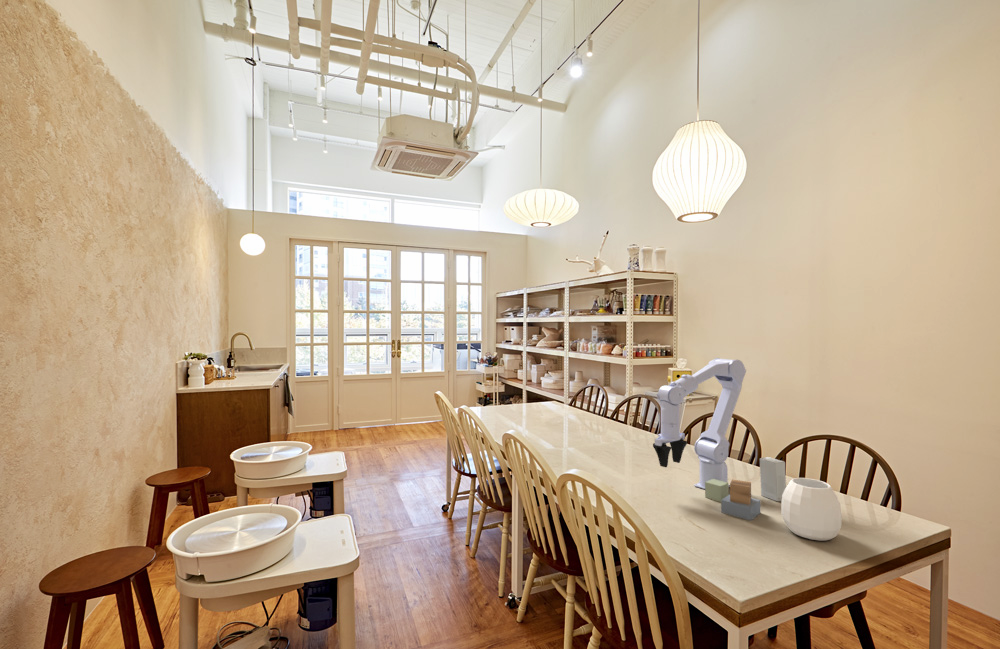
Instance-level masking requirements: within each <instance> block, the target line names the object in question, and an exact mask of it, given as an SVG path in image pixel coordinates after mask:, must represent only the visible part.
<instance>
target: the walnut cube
mask: <svg viewBox="0 0 1000 649" xmlns="http://www.w3.org/2000/svg"><path fill="white" fill-rule="evenodd" d="M729 485H730V487H729V494H730V501H732V502H737V503H743V504H749V505H750V502H751V498H752V482H751V481H746V480H739V479H735V478H733V479H731V481H730V483H729Z"/></svg>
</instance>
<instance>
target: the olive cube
mask: <svg viewBox="0 0 1000 649" xmlns="http://www.w3.org/2000/svg"><path fill="white" fill-rule="evenodd" d="M728 485H729V482H728V483H727V482H723V481H719V480H716V479H711V480H709V481H706V482H705V489H704V498H705V499H710V500H713V501H715V502H720V503H721V500H722V499H723V498H725V497H726V496H728V495H729V487H728Z"/></svg>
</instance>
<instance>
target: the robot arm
mask: <svg viewBox="0 0 1000 649" xmlns="http://www.w3.org/2000/svg"><path fill="white" fill-rule="evenodd" d="M746 372H747V369H746V367H745V365H744V363H743V361H742V360H740V359H729V358H720V357H717V358H716V357H715V358H714V359H712V360H709V361H708V364H707V365H705V366H703V367H702V368H701V369H699V370H698V371H696V372H695V373H693V374H692V375H691V374H682V375H681V376H680V378H678V379H676V380H674V381H671V382H670V384H669V385H667V384H665V385H662V386H660V388H659V389H658V391H657V393H656V397H657V400H658V402H659V406H660V433H658V434H657V438H655V439H654V442H653V443H652V447H653V449H654V450H655V453H656V455H657V458H658V462H659V466H660V467H663V468H668V465H669V456H670V452H671V455H672V456H671V457H672V462H673V463H677V464H680V462H681V460H682V456H683V452H684V450H685V449H686V448H685V447H686V446H687V445H688V441H687V440H685V437H686V435H685V433H684V432H681V431H680V405H681V404H682V403H683V401H684V399H685V398H686V396H688V395H690V394H692V393H693V392H695V391H697V390H698V388H699V384H702V383H704V382H705V381H708V380H710V379H712V378H713V377H714V378H715V379H716V380H717V381H718V383H719V384H721V386H722V389H721V392H720V395H719V398H718V401H717V403H716V407H715V409H714V412H713V415H712V416H711V417H712V418H711V420H710V423H709V426H708V428H707V430H705V431H703V432H702V433H700V435H699V437H698V439H696V441H695V442H694V446H693V447H694V448H693V450H694V453H695V454H696V455H697V459H698V460H699V482H697V483H694V484H693V486H694V487H697V488H699V489H703V490H705V482H706V481H709V480H711V479H716V480H719V481H723V482H727V483H728V488H730V484H729V482H728V480H729V479H728V476H729V475H728V465H727V463H726V461H727V459H728V457H729V447H730V445H731V444H730V442H729V440H728V438H726V434H727V431H728V428H729V425H730V423H731V419H732V417H733V415H734V411H735V408H736V406H737V402H738V400H739V396H740V394H741V391H742V388H743V382H744V380H745V379H744V378H745V376H746ZM667 444H669V445H670V446H668V445H667Z"/></svg>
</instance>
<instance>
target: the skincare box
mask: <svg viewBox="0 0 1000 649" xmlns="http://www.w3.org/2000/svg"><path fill="white" fill-rule="evenodd" d="M759 473H760V474H759V476H760V494H761V496H762V497H765V498H767V499H771V500H772V501H775V502H782V495H783V492H784V490H785V488H786V486H787V482H786V481H787V480H786V478H787V477H786V462H785V461H784V460H780V459H777V458H773V457H770V456H766V457H760V458H759Z"/></svg>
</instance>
